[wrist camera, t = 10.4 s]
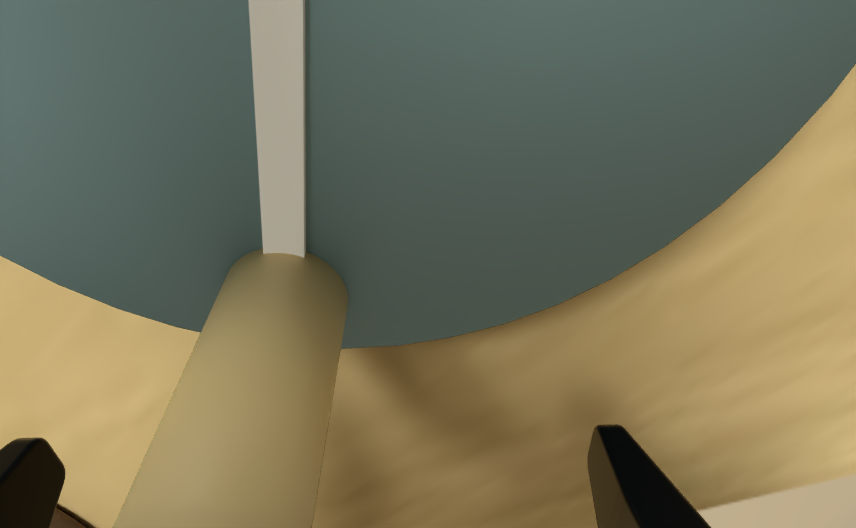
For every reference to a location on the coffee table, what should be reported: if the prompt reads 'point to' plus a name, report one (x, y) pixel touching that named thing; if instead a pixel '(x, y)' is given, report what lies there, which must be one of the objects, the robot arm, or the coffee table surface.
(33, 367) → the coffee table surface
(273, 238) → the handwheel
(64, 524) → the plant pot
